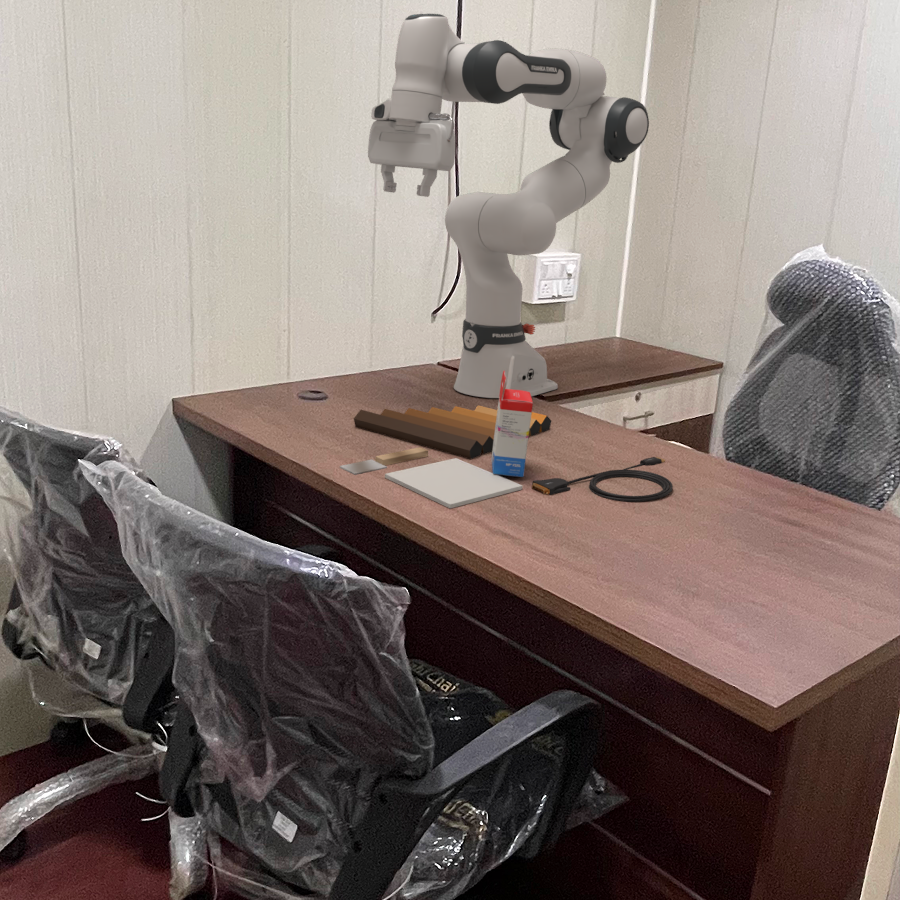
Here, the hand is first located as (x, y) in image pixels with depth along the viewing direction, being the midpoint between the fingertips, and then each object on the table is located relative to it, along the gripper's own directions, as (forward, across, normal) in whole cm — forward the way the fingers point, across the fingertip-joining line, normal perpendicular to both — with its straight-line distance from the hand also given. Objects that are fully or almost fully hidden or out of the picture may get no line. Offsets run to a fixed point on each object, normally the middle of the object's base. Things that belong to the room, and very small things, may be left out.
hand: (405, 194), depth 170 cm
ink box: (+39, -39, +5) cm, 55 cm away
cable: (+39, -54, -6) cm, 67 cm away
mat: (+40, -39, +16) cm, 58 cm away
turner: (+41, -26, +18) cm, 52 cm away
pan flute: (+39, -17, -3) cm, 43 cm away
